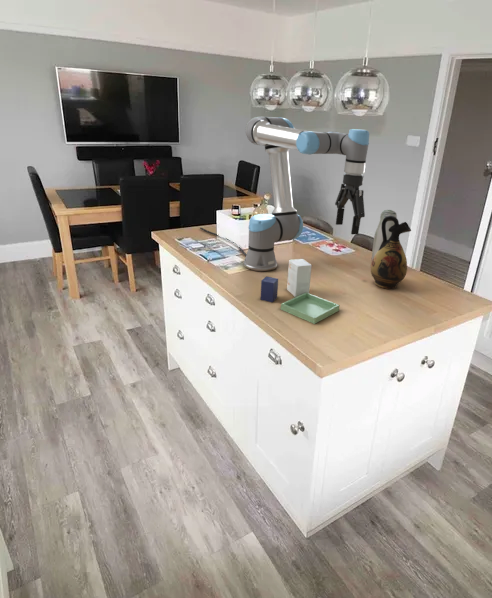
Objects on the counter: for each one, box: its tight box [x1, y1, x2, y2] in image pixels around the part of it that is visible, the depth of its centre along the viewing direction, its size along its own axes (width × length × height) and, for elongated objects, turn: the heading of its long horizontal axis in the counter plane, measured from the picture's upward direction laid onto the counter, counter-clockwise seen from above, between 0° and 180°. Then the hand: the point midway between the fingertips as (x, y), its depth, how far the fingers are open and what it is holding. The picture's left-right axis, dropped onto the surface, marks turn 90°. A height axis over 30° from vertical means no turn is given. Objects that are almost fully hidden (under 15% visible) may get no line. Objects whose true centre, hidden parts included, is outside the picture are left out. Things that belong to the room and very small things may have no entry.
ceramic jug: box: [369, 216, 412, 290], centre depth 177 cm, size 17×15×30 cm
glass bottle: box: [371, 209, 398, 261], centre depth 198 cm, size 10×10×28 cm
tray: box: [280, 292, 340, 325], centre depth 154 cm, size 16×16×2 cm
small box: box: [286, 258, 313, 298], centre depth 166 cm, size 8×6×13 cm
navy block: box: [260, 276, 279, 303], centre depth 160 cm, size 5×5×8 cm
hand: (346, 229), depth 165 cm, fingers open, 13 cm apart
